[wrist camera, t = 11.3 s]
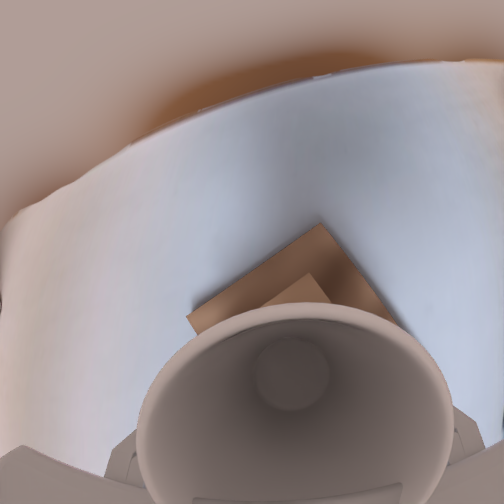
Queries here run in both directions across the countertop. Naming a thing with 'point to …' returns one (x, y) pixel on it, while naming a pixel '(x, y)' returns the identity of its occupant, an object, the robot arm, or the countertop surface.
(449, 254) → the countertop surface
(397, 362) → the drinking glass
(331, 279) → the walnut display stand
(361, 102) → the countertop surface
